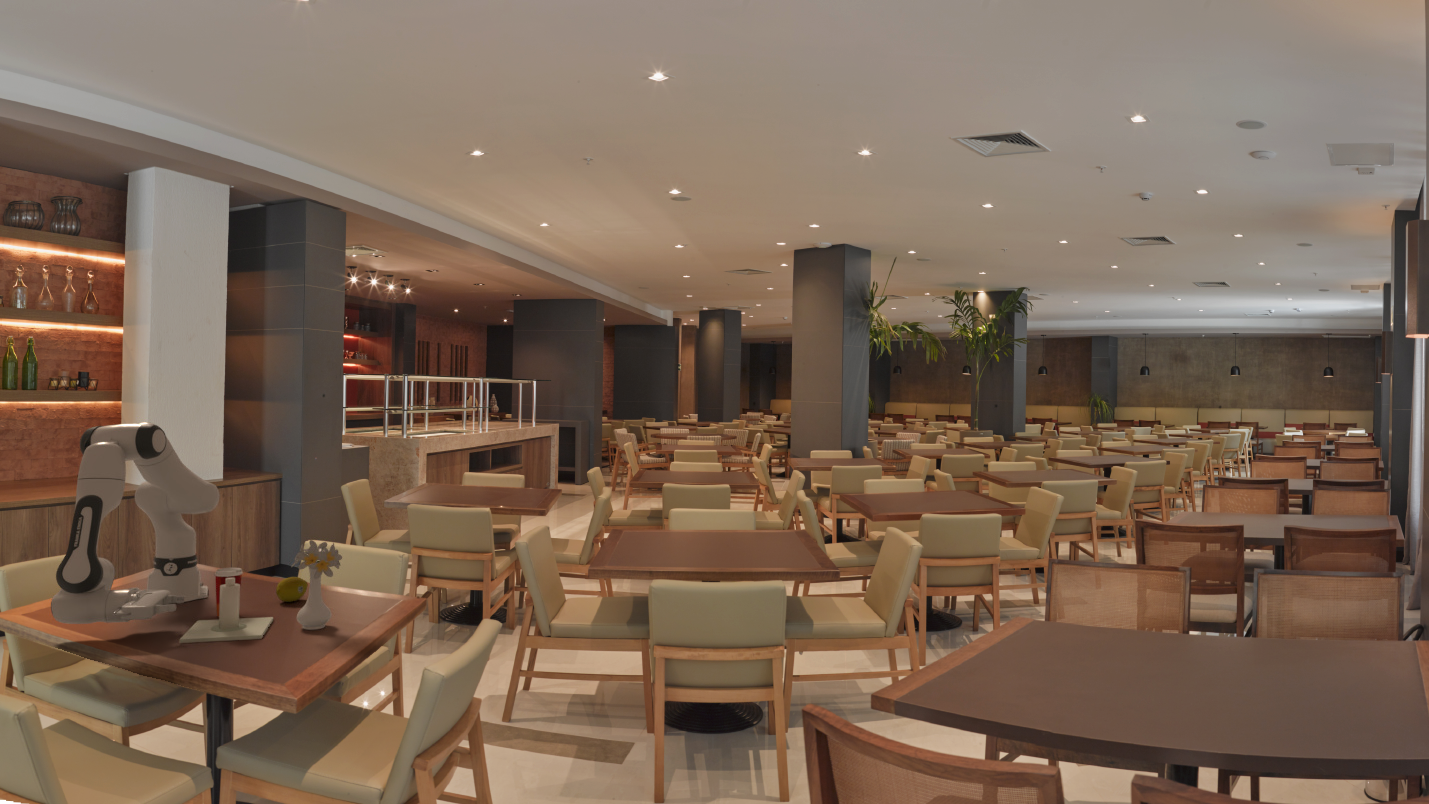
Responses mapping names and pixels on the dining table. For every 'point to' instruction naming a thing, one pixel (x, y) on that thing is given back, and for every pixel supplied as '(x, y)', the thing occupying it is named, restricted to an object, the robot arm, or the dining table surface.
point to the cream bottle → (229, 604)
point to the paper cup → (221, 579)
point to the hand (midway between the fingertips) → (180, 603)
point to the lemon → (291, 589)
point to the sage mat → (227, 630)
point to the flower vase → (316, 583)
